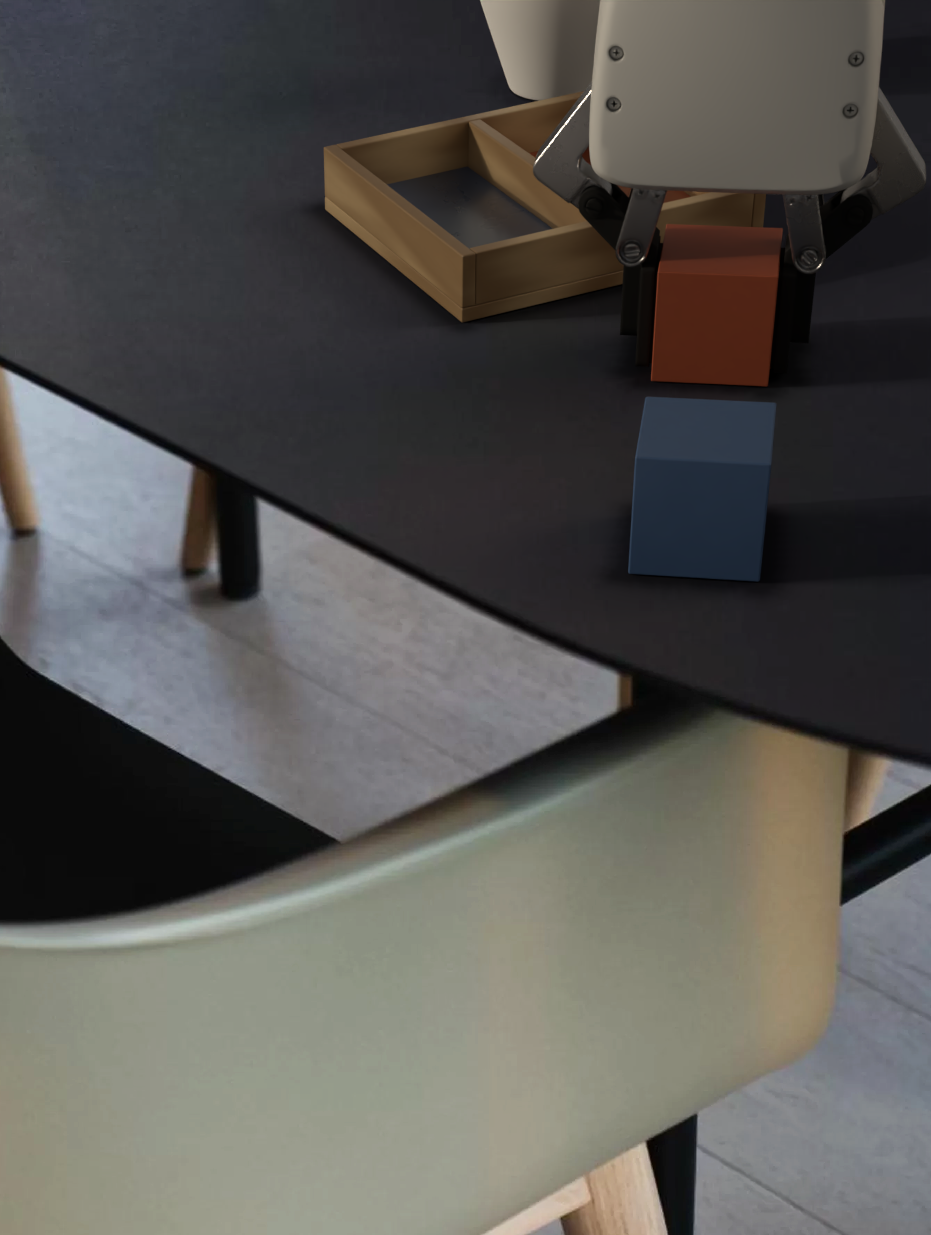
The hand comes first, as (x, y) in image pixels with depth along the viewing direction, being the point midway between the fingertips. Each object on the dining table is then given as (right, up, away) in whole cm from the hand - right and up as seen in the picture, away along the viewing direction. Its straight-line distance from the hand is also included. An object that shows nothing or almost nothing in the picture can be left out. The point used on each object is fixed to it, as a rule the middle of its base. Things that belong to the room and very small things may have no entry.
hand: (713, 349), depth 97 cm
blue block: (-3, -10, -11) cm, 14 cm away
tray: (-6, +8, +10) cm, 14 cm away
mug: (-2, +18, +22) cm, 29 cm away
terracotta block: (0, 0, 0) cm, 0 cm away
